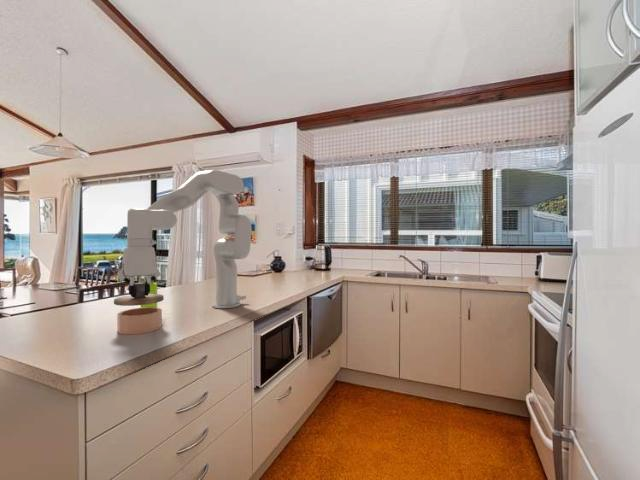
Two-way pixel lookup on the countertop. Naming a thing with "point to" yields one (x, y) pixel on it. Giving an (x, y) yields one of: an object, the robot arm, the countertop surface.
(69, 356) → the countertop surface
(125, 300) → the walnut lid
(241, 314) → the countertop surface
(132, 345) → the countertop surface
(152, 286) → the soap dispenser
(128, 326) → the terracotta bowl
